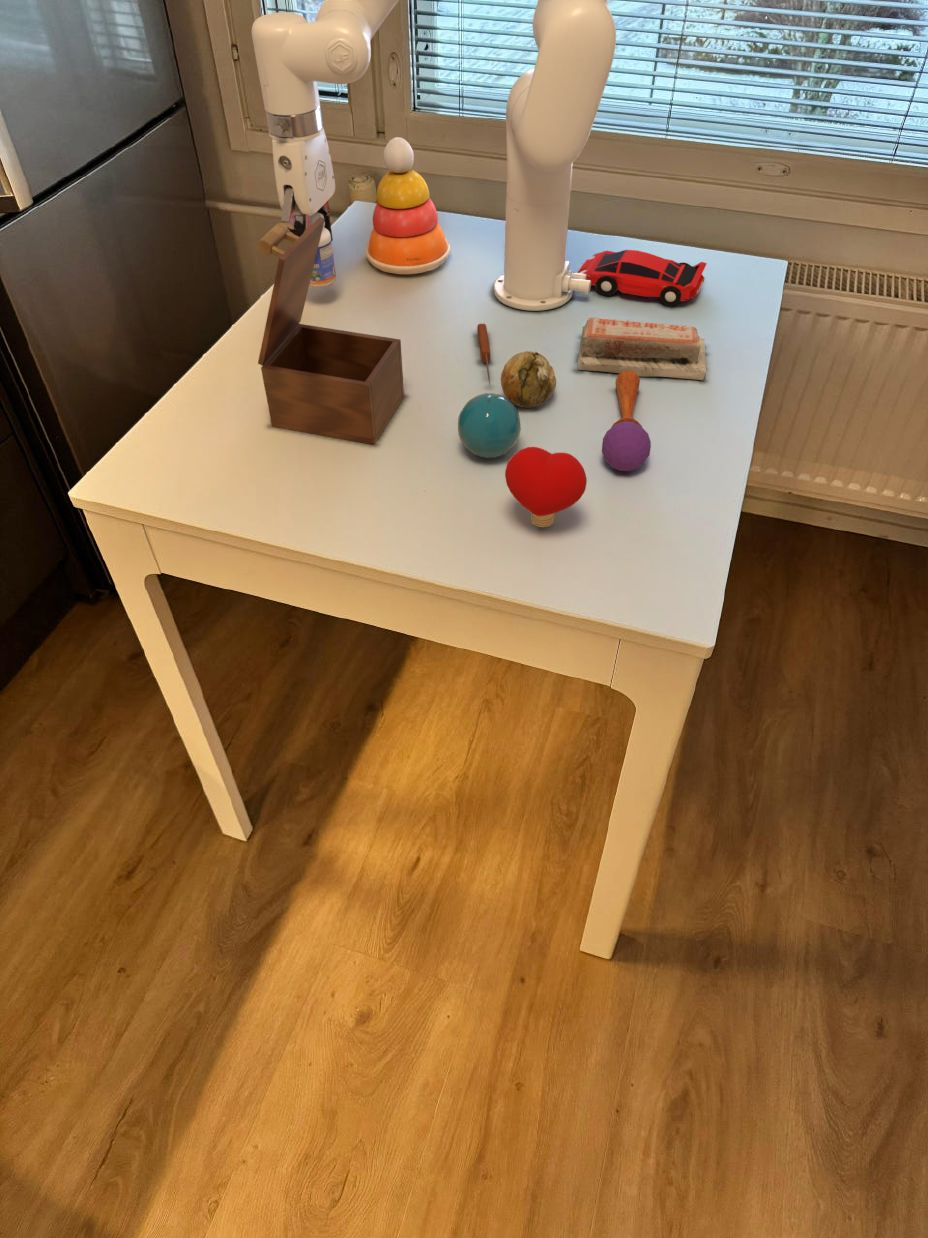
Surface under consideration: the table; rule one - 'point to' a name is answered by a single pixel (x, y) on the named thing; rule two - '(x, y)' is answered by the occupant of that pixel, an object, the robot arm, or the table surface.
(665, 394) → the table surface
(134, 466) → the table surface
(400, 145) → the stacking toy
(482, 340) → the brown screwdriver
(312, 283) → the pill bottle
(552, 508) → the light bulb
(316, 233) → the lid
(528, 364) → the cracked brown sphere
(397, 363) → the chest
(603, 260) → the toy car
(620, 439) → the purple maraca
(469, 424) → the ball
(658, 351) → the packaged product
